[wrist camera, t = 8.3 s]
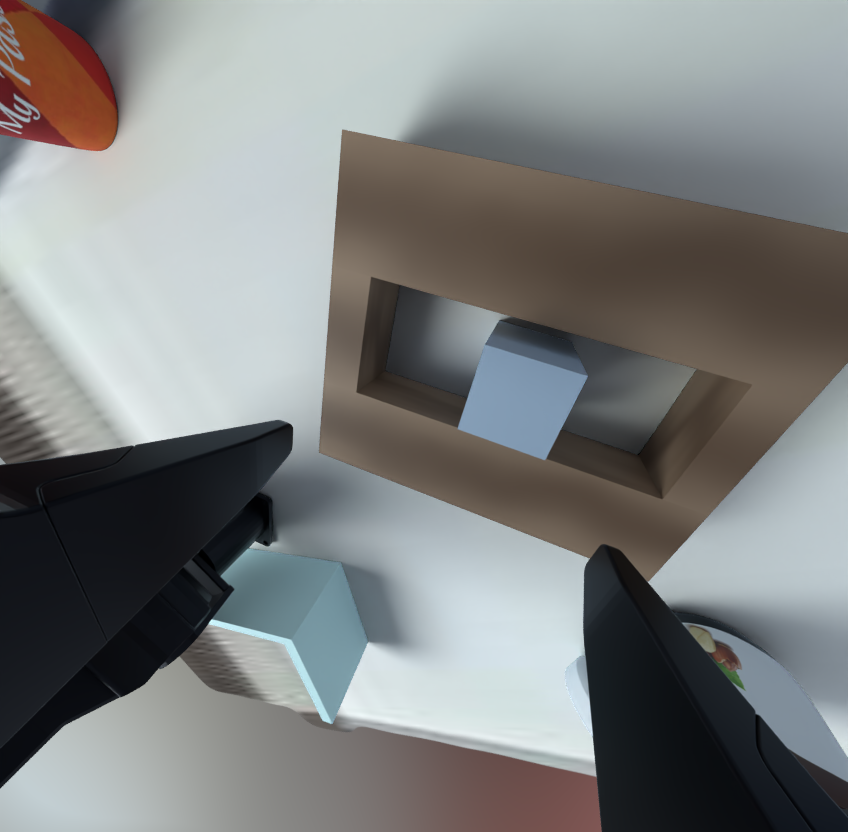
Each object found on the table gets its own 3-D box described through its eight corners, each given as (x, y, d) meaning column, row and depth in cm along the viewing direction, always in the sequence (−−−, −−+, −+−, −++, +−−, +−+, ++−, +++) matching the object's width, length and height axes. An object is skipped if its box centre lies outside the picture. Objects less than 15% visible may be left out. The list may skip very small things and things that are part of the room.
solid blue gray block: (542, 406, 19) (545, 460, 14) (477, 385, 20) (457, 429, 15) (571, 341, 17) (588, 376, 12) (499, 320, 18) (484, 344, 13)
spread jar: (800, 643, 21) (1055, 1009, 11) (704, 720, 26) (812, 1012, 16) (602, 576, 23) (654, 822, 13) (550, 659, 28) (560, 880, 18)
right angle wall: (247, 547, 35) (183, 611, 29) (341, 561, 31) (291, 639, 25) (282, 620, 40) (234, 689, 33) (368, 640, 36) (332, 724, 30)
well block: (629, 528, 21) (648, 581, 17) (349, 424, 24) (318, 452, 20) (836, 255, 13) (946, 253, 10) (383, 157, 16) (342, 129, 13)
